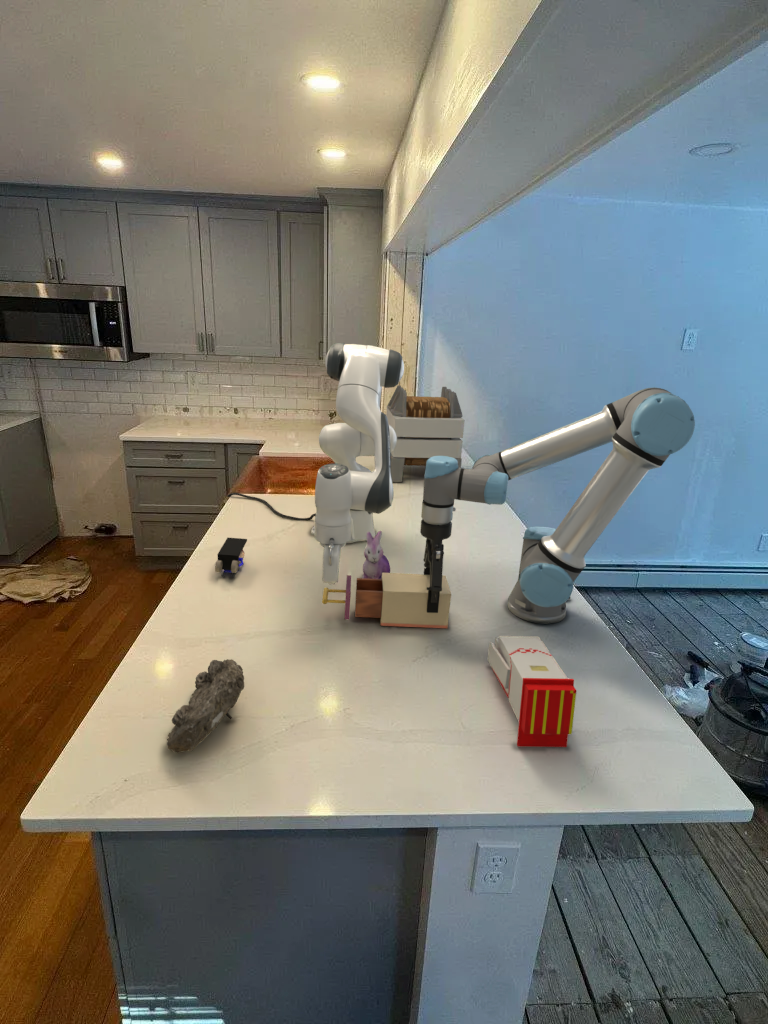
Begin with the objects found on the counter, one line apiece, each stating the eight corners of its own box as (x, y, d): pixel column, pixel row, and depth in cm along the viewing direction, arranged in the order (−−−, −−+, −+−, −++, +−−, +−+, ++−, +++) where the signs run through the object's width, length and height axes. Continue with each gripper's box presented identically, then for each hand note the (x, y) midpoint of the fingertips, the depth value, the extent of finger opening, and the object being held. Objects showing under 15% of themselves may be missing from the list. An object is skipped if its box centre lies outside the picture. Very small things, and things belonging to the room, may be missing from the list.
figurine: (368, 590, 159) (370, 541, 153) (353, 575, 167) (354, 528, 162) (398, 584, 163) (401, 536, 158) (382, 570, 171) (384, 524, 166)
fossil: (192, 660, 117) (244, 628, 112) (224, 691, 120) (276, 661, 115) (142, 746, 98) (202, 712, 93) (182, 779, 101) (242, 748, 96)
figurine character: (238, 584, 162) (249, 557, 175) (236, 562, 158) (247, 536, 172) (215, 584, 161) (227, 556, 175) (212, 561, 158) (225, 535, 171)
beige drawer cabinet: (380, 625, 141) (383, 590, 138) (379, 605, 150) (381, 572, 147) (447, 628, 142) (451, 593, 139) (441, 608, 151) (445, 575, 148)
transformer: (382, 463, 289) (386, 382, 275) (445, 464, 293) (451, 384, 279) (390, 482, 257) (394, 392, 243) (460, 483, 261) (468, 394, 247)
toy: (536, 619, 129) (586, 686, 99) (531, 673, 131) (578, 754, 102) (483, 618, 128) (517, 685, 99) (479, 672, 131) (511, 753, 102)
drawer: (321, 618, 140) (322, 590, 138) (323, 600, 149) (324, 574, 146) (406, 622, 142) (409, 594, 139) (404, 604, 150) (406, 577, 147)
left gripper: (344, 549, 128) (343, 603, 133) (347, 516, 147) (346, 564, 152) (316, 548, 128) (316, 602, 132) (322, 515, 147) (322, 564, 152)
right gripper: (459, 538, 127) (450, 625, 134) (445, 505, 148) (438, 581, 156) (426, 537, 126) (419, 624, 134) (417, 504, 148) (411, 580, 155)
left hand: (332, 582), depth 142 cm, fingers closed
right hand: (429, 601), depth 145 cm, fingers closed on beige drawer cabinet, 10 cm apart
